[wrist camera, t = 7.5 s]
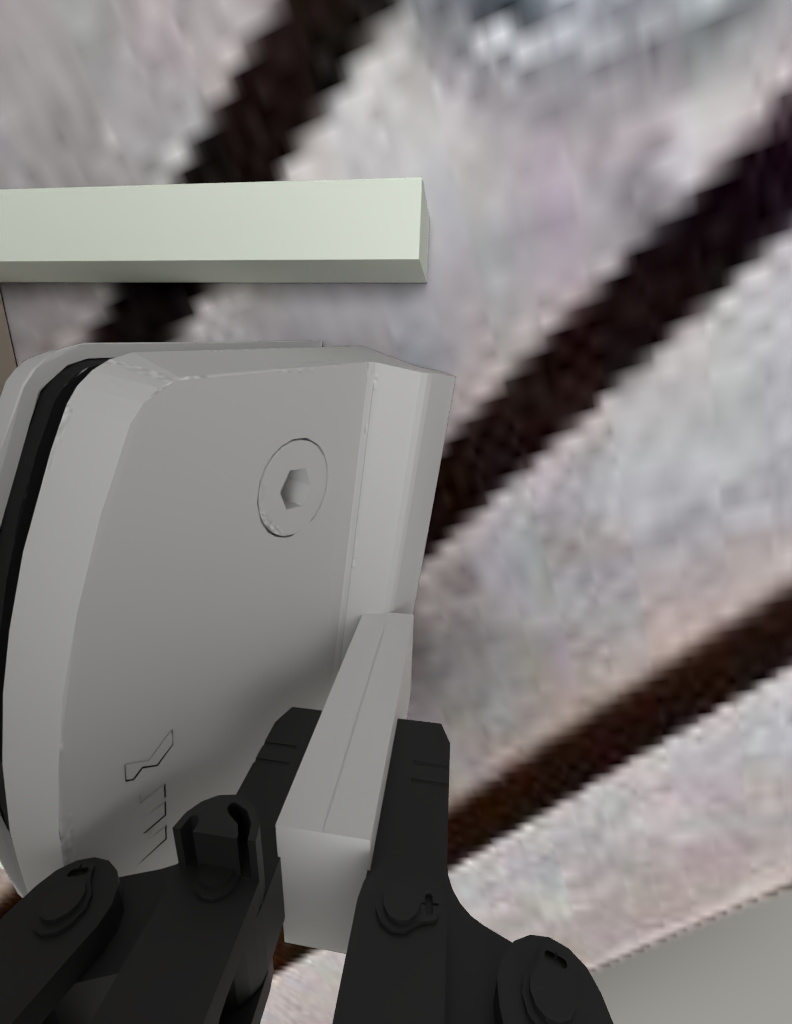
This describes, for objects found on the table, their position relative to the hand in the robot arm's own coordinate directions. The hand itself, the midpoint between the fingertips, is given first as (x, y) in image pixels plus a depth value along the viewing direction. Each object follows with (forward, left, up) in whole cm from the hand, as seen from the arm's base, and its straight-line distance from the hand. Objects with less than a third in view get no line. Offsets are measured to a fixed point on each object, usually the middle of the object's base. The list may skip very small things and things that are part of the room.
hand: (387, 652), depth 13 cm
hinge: (-3, +1, -2) cm, 4 cm away
